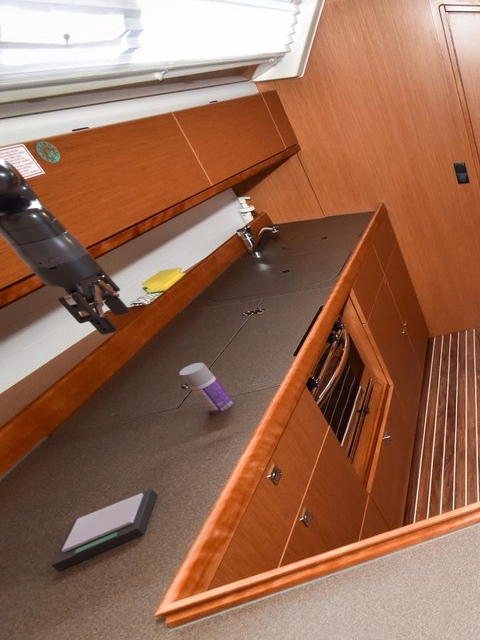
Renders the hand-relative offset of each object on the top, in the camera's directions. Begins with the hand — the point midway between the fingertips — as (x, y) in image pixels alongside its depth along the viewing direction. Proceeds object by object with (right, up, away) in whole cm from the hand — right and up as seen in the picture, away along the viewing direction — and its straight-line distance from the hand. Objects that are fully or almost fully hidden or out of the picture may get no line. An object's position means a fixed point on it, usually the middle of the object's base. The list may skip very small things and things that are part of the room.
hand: (116, 322), depth 88 cm
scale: (+9, -41, -8) cm, 42 cm away
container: (+5, -25, +18) cm, 32 cm away
